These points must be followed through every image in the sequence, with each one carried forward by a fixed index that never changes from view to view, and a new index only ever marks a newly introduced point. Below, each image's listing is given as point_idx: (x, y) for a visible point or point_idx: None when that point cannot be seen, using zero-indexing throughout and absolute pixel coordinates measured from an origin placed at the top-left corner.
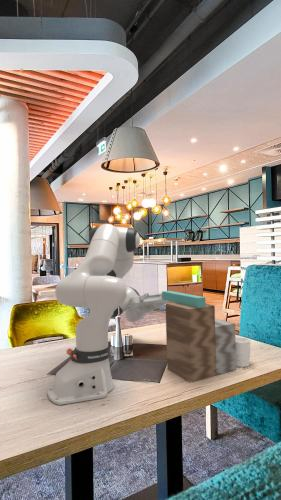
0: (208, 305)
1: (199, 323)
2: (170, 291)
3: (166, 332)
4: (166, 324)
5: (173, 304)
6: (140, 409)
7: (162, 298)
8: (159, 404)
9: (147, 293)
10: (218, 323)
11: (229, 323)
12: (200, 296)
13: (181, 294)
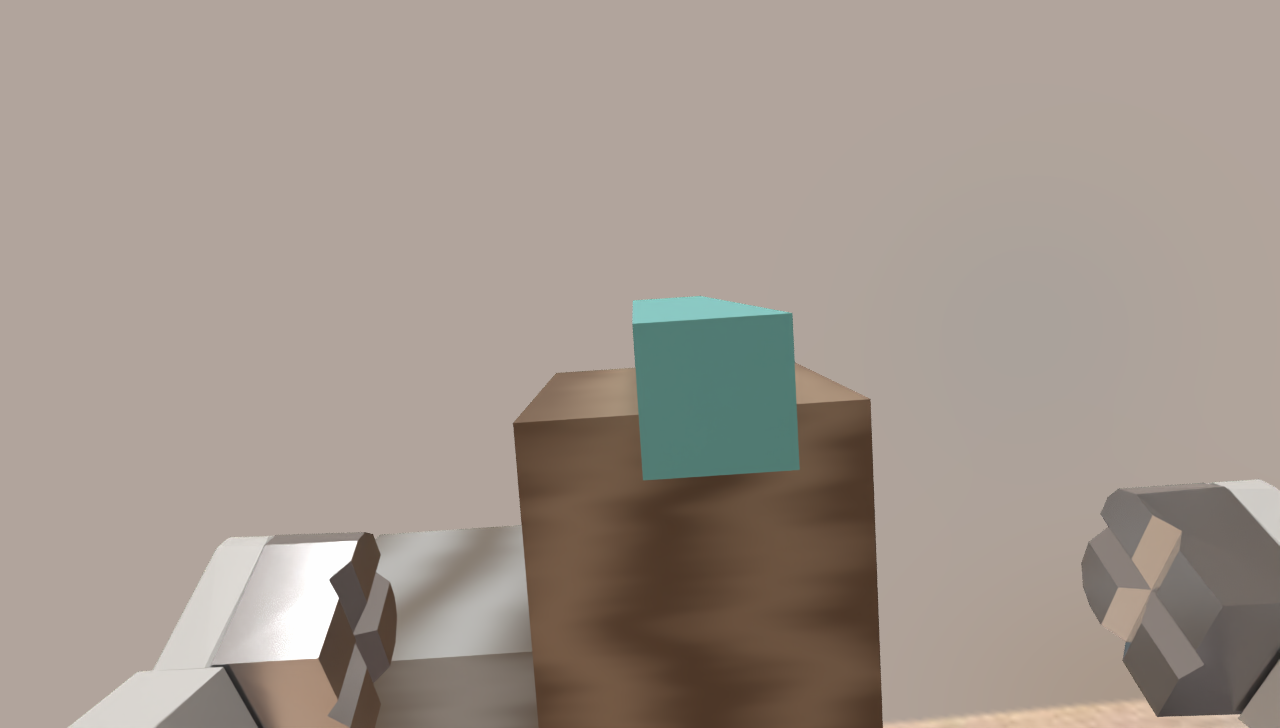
0: (585, 374)
1: None
2: (667, 316)
3: (881, 719)
4: (876, 629)
5: (808, 387)
6: (1156, 720)
7: (797, 445)
8: (1054, 724)
9: (1156, 488)
10: (462, 550)
11: (407, 539)
12: (636, 301)
13: (699, 302)
